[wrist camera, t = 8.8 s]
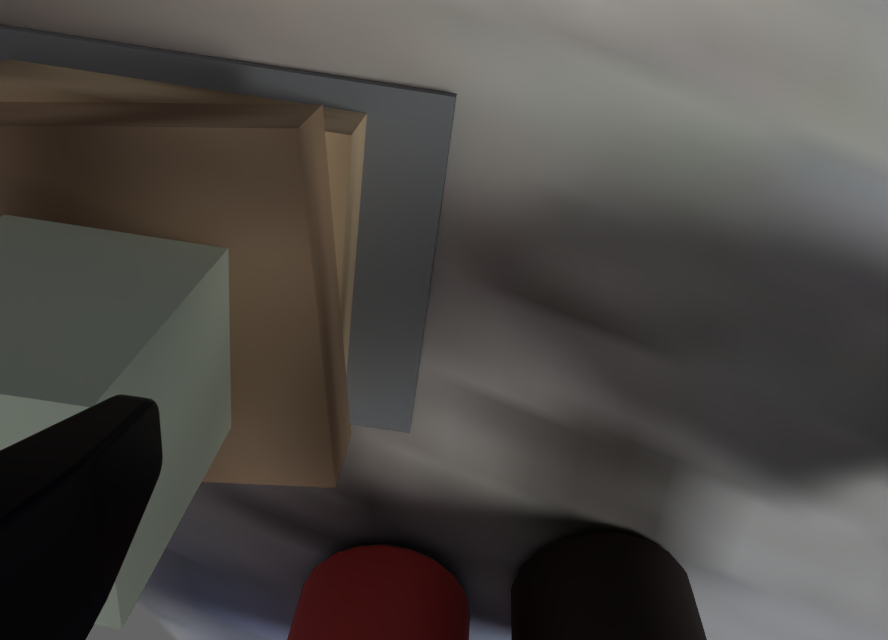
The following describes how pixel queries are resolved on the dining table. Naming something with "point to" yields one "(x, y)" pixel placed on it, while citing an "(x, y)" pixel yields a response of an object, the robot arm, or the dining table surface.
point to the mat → (381, 203)
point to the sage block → (118, 355)
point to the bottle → (603, 592)
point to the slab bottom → (340, 125)
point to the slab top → (222, 225)
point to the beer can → (381, 598)
